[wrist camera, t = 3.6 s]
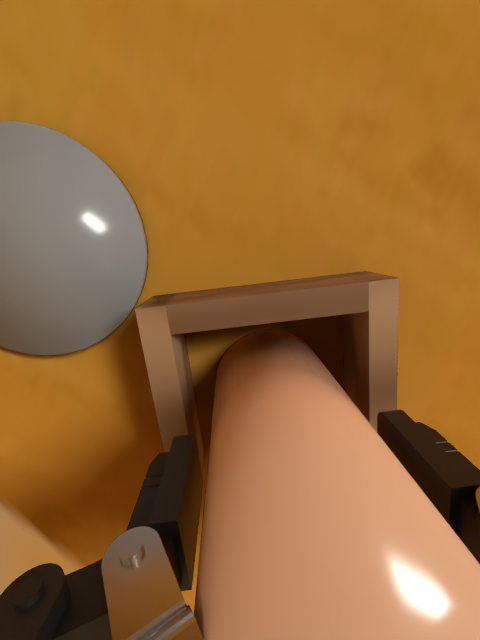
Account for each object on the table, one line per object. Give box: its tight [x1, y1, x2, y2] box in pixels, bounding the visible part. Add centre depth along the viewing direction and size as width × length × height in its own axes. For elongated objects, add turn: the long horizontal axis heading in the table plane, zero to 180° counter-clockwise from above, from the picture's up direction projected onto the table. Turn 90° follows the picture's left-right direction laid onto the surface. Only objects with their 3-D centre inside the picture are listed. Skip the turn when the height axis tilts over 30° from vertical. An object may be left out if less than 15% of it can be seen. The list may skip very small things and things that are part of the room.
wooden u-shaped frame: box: [135, 271, 399, 473], centre depth 14 cm, size 9×10×3 cm
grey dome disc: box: [0, 121, 148, 355], centre depth 14 cm, size 10×10×1 cm
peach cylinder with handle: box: [194, 330, 480, 640], centre depth 11 cm, size 8×6×12 cm, turn 6°
